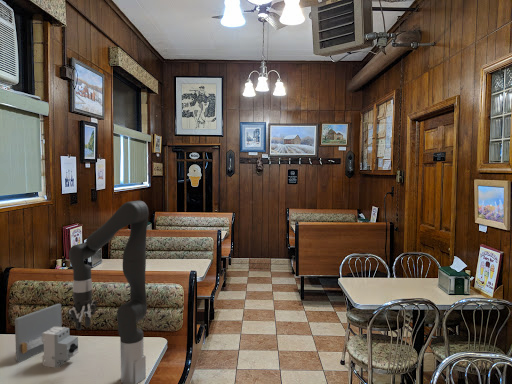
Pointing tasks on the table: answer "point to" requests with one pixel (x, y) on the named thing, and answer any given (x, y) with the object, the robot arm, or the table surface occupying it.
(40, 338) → the din rail
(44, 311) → the mounting panel
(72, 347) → the circuit breaker
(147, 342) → the table surface
